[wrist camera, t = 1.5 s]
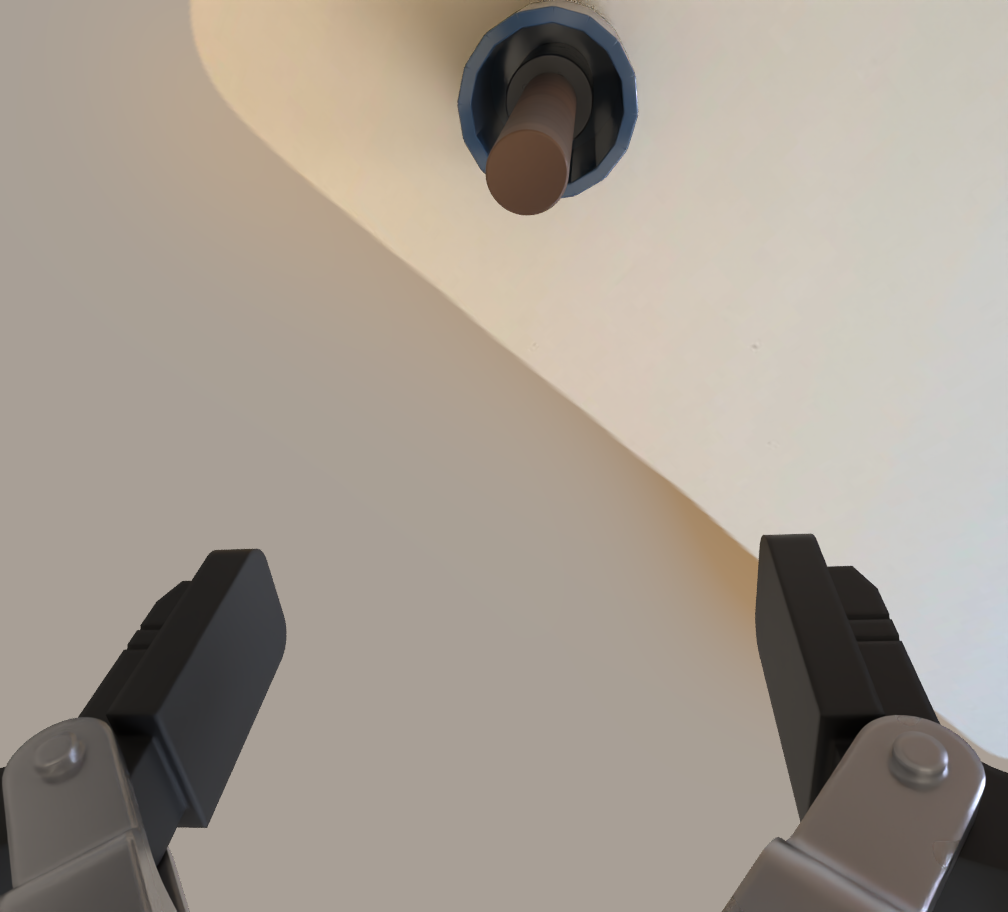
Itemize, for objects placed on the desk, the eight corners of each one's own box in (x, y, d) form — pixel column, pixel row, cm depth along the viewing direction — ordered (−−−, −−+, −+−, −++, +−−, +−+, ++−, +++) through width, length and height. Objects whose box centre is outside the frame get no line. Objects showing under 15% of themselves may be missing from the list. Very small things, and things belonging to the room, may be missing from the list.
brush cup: (453, 100, 35) (424, 127, 29) (540, -36, 33) (529, -37, 27) (567, 190, 37) (562, 233, 31) (660, 67, 34) (675, 88, 28)
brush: (500, 94, 35) (434, 186, 20) (547, 24, 33) (512, 70, 19) (561, 142, 35) (539, 265, 21) (609, 77, 34) (622, 160, 19)
